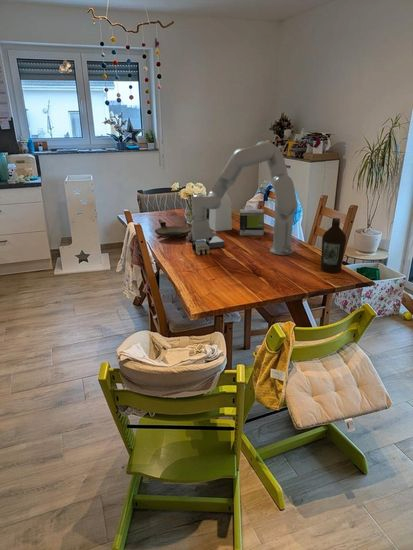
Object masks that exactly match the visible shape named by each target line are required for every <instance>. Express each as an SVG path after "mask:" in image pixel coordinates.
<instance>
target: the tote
mask: <svg viewBox="0 0 413 550" xmlns="http://www.w3.org/2000/svg"><path fill="white" fill-rule="evenodd" d="M195 244H196V245H197V246H206V241H205V240H204V239H201V240H196V242H195Z"/></svg>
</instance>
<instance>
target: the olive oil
mask: <svg viewBox="0 0 413 550" xmlns="http://www.w3.org/2000/svg"><path fill="white" fill-rule="evenodd" d="M340 223H341V218H339V217H333V218H332V221H331V227H329V228H328V229H327V230H326V231H325V232H324V233H323V235H322V239H321V261H320V271H322V272H323V273H329V274H338V273H340V272H341V271H342V266H343V259H344V256H345V255H344V254H345V249H346V242H347V236H346V233H345V232H344V231H343V230H342V229H341V227H340V225H341V224H340Z"/></svg>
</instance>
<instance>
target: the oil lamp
mask: <svg viewBox="0 0 413 550" xmlns="http://www.w3.org/2000/svg"><path fill="white" fill-rule="evenodd" d="M158 222H159V225H160V227H158V228H156V229H155V230H154V232H155V234H156V235H158V236H159V237H163V238H167V239H175V238H180V237H183V236H185V235H189V234H190V233H191V227H189V226H182V225H181V226H175V225H173V226H169V225H168V226H167V222H166V221H163V220H162V218H159V219H158Z"/></svg>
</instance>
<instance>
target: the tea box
mask: <svg viewBox="0 0 413 550" xmlns="http://www.w3.org/2000/svg"><path fill="white" fill-rule="evenodd" d="M264 225H265V210H264V209H262V208H257V209H256V208H255V209H251V208H248V209H247V208H245V209H244V208H242V209H239V235H240V236H264V231H265V229H264V228H265V227H264Z"/></svg>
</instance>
